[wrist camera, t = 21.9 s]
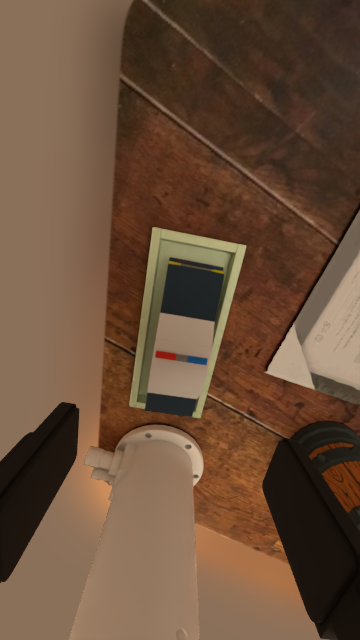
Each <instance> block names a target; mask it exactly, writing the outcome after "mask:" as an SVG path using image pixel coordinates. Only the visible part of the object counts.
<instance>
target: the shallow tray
mask: <svg viewBox="0 0 360 640" xmlns="http://www.w3.org/2000/svg"><path fill="white" fill-rule="evenodd" d="M245 250H246V245H241V244H236V243H231V242H226V241H221V240H216V239H211V238H206V237H201V236H196V235H191V234H186V233H181V232H176V231H171V230H166V229H161V228H156V227H153V228H152V236H151V243H150V251H149V258H148V266H147V274H146V281H145V289H144V296H143V304H142V312H141V319H140V327H139V334H138V342H137V350H136V357H135V365H134V372H133V380H132V388H131V395H130V403H129V407H136V408H142V409H145V405H146V399H147V392H148V383H149V376H150V370H151V363H152V357H153V351H154V345H155V339H156V333H157V328H158V322H159V317H160V311H161V305H162V298H163V292H164V286H165V280H166V274H167V268H168V263H169V258H170V257H172V258H177V259H183V260H188V261H193V262H198V263H204V264H209V265H214V266H219V267H223V272H224V279H223V285H222V290H221V295H220V300H219V304H218V309H217V314H216V318H215V323H214V334H213V345H212V352H211V357H210V361H209V366H208V370H207V374H206V378H205V382H204V386H203V389H202V392H201V394H200V396H199V397H198V398H197V400H196V404H195V408H194V412H193V415H192V417H195V418H201V414H202V411H203V407H204V403H205V399H206V396H207V392H208V388H209V385H210V381H211V377H212V373H213V370H214V366H215V362H216V358H217V355H218V351H219V347H220V343H221V340H222V336H223V332H224V329H225V325H226V321H227V317H228V314H229V310H230V306H231V302H232V299H233V295H234V291H235V287H236V284H237V280H238V276H239V273H240V269H241V265H242V261H243V258H244V254H245Z"/></svg>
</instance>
